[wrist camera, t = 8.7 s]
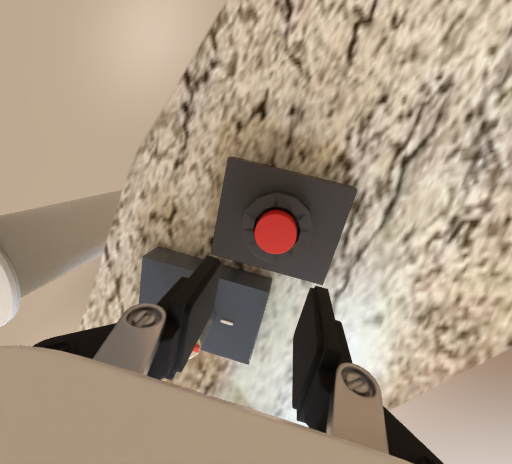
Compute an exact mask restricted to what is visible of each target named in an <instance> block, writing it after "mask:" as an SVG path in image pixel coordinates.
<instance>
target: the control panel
mask: <svg viewBox="0 0 512 464" xmlns="http://www.w3.org/2000/svg"><path fill="white" fill-rule="evenodd" d="M202 262H203V259H199V258H196V257H192V256H189V255H185V254H182V253H178V252H175V251H171V250H167V249H164V248H160V247H156V248H155V249H153V250H152V251H150V252H149V253H147V254H146V255H144V256H143V260H142V272H141V284H140V297H139V304H144V303H149V304H155V305H156V304H157V303H158V302H159V301H160V300H161V299H162V297H163V296H164V295H165V294H166V293H167V292H168V291H169V290H170V289H171V288H172V287H173V285H174V284H175V283H176V282H177V281H178V280H179V279H180V278H181V277H183V276H184V277H187V278H189V277H190V276H191V274H192V273H193V272H194V271H195V270H196V269H197V267H198V266H199V265H200V264H201V263H202ZM271 282H272V279H271V278H267V277H264V276H260V275H256V274H253V273H249V272H246V271H242V270H239V269H235V268H232V267H228V266H224V265H222V268H221V273H220V278H219V283H218V288H217V293H216V298H215V303H214V308H213V310H214V312H215V319H214V322H213V324H212V326H211V328H210V330H209V332H208V334H207V336H206V338H205V340H204V343H203V345H202V347H201V349H200V350H203V351H206V352H209V353H212V354H216V355H219V356H222V357H225V358H229V359H232V360H235V361H238V362H241V363H245V364H248V365H249V363H250V359H251V356H252V352H253V349H254V345H255V342H256V338H257V335H258V331H259V328H260V324H261V321H262V317H263V314H264V310H265V307H266V303H267V300H268V296H269V293H270V287H271Z"/></svg>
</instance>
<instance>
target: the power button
mask: <svg viewBox="0 0 512 464" xmlns="http://www.w3.org/2000/svg"><path fill="white" fill-rule="evenodd" d="M254 235H255V240H256V242H257V244H258V245H259V247H260V248H261V249H263V250H264V251H266V252H268V253H271V254H281V253H284V252H286V251H288V250H289V249H291V248H292V246H293V245H294V243H295V241H296V238H297V226H296V223H295V220H294V219H293V217H292V216H291V215H290V214H288V213H287V212H285V211H282V210H271V211H268V212H266V213H265V214H263V215H262V216H261V218H260V219H259V221H258V223H257V225H256V227H255V232H254Z"/></svg>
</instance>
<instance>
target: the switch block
mask: <svg viewBox="0 0 512 464" xmlns="http://www.w3.org/2000/svg"><path fill="white" fill-rule="evenodd" d="M356 193H357V189H356V188H354V187H352V186H349V185H345V184H341V183H337V182H333V181H329V180H325V179H321V178H317V177H312V176H308V175H304V174H300V173H296V172H292V171H288V170H284V169H280V168H276V167H272V166H268V165H264V164H260V163H256V162H252V161H248V160H244V159H240V158H236V157H229V158H228V161H227V167H226V172H225V178H224V183H223V189H222V194H221V200H220V205H219V211H218V216H217V221H216V227H215V232H214V238H213V243H212V249H211V254H212V255H216V256H219V257H223V258H227V259H230V260H234V261H237V262H241V263H245V264H248V265H252V266H255V267H259V268H263V269H266V270H270V271H273V272H277V273H281V274H284V275H288V276H291V277H295V278H298V279H302V280H306V281H309V282H313V283H316V284H320V285H323V283H324V280H325V277H326V275H327V272H328V269H329V267H330V264H331V261H332V258H333V256H334V253H335V250H336V247H337V245H338V242H339V239H340V236H341V234H342V231H343V228H344V225H345V223H346V220H347V217H348V214H349V212H350V209H351V206H352V204H353V201H354V198H355V195H356ZM271 210H282V211H285V212H287V213H288V214H290V215H291V216H292V217H293V219H294V220H295V223H296V226H297V238H296V241H295V243H294V245H293V246H292V248H291V249H289V250H288V251H286V252H284V253H281V254H271V253H268V252H266V251H264V250H263V249H261V248H260V247H259V245H258V244H257V242H256V240H255V235H254V232H255V227H256V225H257V223H258V221H259V219H260V218H261V216H262V215H263V214H265V213H266V212H268V211H271Z"/></svg>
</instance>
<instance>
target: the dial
mask: <svg viewBox="0 0 512 464" xmlns="http://www.w3.org/2000/svg"><path fill="white" fill-rule="evenodd" d="M214 319H215V312H214V310H213V311H212V314H211V316H210V318H209V320H208V322H207V324H206V326H205V328H204V330H203V332H202V334H201V336H200V338H199V340H198V341H197V343H196V345H195V347H194V349H193V351H192V353H191V355H190V357H189V359H190V358H193V357H195V356H196V355H197V354H198V353H199V351H200V349H201V347H202V345H203V343H204V340H205V338H206V336H207V334H208V332H209V330H210V328H211V326H212V324H213V322H214Z"/></svg>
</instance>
